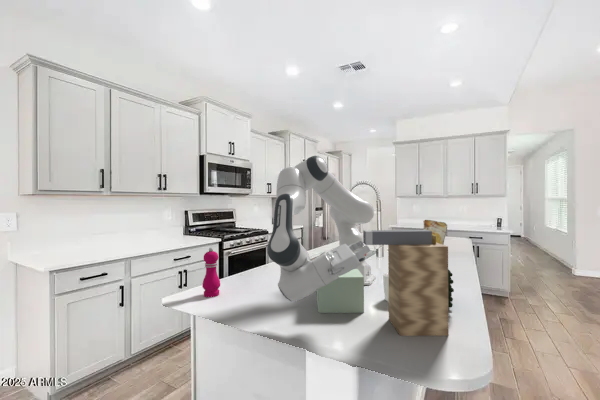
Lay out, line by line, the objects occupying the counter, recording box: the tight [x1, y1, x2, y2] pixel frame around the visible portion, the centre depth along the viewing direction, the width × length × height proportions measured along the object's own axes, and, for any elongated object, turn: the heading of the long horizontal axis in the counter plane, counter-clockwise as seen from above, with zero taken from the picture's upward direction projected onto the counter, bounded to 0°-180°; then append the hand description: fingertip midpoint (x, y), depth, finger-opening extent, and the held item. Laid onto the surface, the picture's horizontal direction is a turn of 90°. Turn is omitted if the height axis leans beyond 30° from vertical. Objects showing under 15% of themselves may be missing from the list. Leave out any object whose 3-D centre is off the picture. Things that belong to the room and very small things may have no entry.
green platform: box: [316, 269, 365, 314], centre depth 113 cm, size 16×12×12 cm
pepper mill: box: [201, 247, 221, 298], centre depth 128 cm, size 7×7×20 cm
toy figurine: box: [448, 269, 455, 308], centre depth 117 cm, size 9×19×25 cm
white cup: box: [382, 272, 389, 303], centre depth 119 cm, size 8×8×10 cm
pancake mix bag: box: [422, 219, 448, 245], centre depth 155 cm, size 7×19×28 cm, turn 4°
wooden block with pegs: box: [387, 235, 449, 337], centre depth 95 cm, size 14×12×28 cm
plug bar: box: [362, 229, 432, 246], centre depth 95 cm, size 20×4×4 cm, turn 89°
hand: (365, 245), depth 95 cm, fingers open, 8 cm apart
